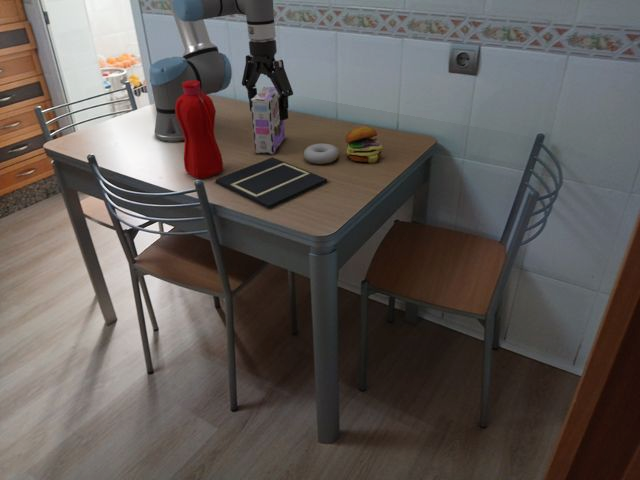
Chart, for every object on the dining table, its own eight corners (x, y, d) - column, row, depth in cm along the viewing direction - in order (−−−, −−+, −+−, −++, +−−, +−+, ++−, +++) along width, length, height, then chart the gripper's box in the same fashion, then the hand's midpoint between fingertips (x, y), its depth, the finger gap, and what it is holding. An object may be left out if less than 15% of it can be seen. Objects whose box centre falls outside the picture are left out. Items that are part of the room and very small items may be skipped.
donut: (297, 162, 149) (327, 168, 144) (296, 151, 147) (326, 156, 143) (316, 150, 156) (345, 156, 152) (315, 139, 155) (344, 144, 150)
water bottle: (205, 184, 138) (190, 89, 125) (181, 173, 145) (164, 82, 131) (232, 173, 144) (220, 81, 131) (208, 162, 150) (195, 74, 137)
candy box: (273, 155, 154) (269, 99, 145) (254, 153, 155) (249, 99, 146) (285, 138, 165) (282, 86, 157) (267, 137, 166) (263, 85, 158)
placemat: (215, 182, 139) (215, 179, 138) (272, 160, 151) (272, 156, 150) (269, 209, 125) (268, 205, 125) (327, 182, 137) (327, 178, 137)
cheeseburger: (359, 167, 144) (354, 131, 141) (340, 163, 153) (336, 129, 150) (389, 159, 148) (385, 124, 145) (369, 155, 157) (365, 122, 154)
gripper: (224, 37, 149) (233, 109, 160) (281, 47, 134) (287, 126, 145) (245, 33, 154) (252, 104, 165) (303, 42, 138) (306, 119, 149)
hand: (268, 114), depth 155 cm, fingers open, 13 cm apart
